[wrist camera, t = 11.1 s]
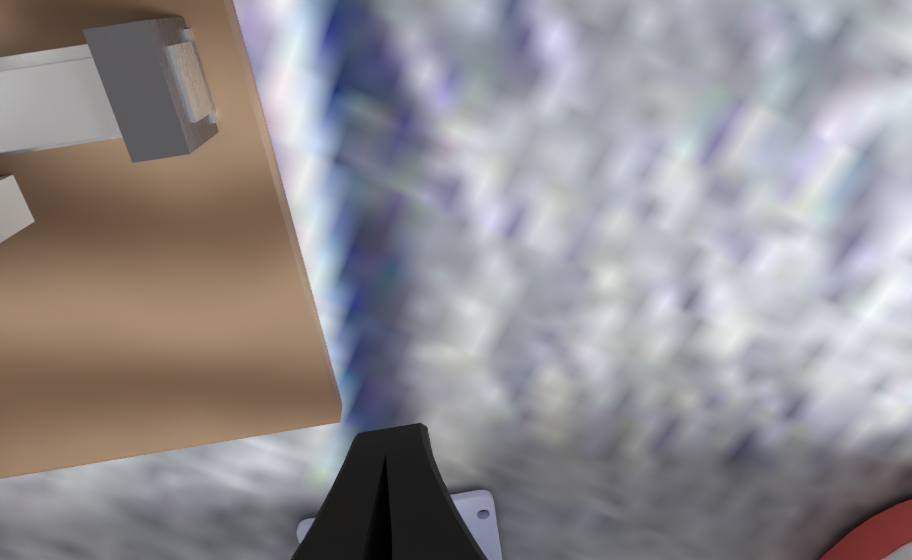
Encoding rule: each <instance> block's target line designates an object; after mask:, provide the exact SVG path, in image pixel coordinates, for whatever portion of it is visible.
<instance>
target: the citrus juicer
mask: <svg viewBox="0 0 912 560" xmlns="http://www.w3.org/2000/svg"><path fill="white" fill-rule="evenodd" d="M819 560H912V499H910V500H908V501H905V502H902V503H899V504H897V505H895V506H893V507H891V508H889V509H887V510H885V511H883V512H881V513H879V514H877V515H875V516H873V517H872V518H870V519H869V520H867V521H866V522H864V523H863V524H861V525H860V526H858V527H857V528H855V529H854V530H852V531H851V532H850V533H848V534H847V535H846V536H845V537H844V538H843V539H842V540H840V541H839V542H838V543H837V544H836V545H835V546H834V547H832V549H830V550H828V551H827V552H826V553H824V554H823V555H822V557H821V558H820V559H819Z"/></svg>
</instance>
